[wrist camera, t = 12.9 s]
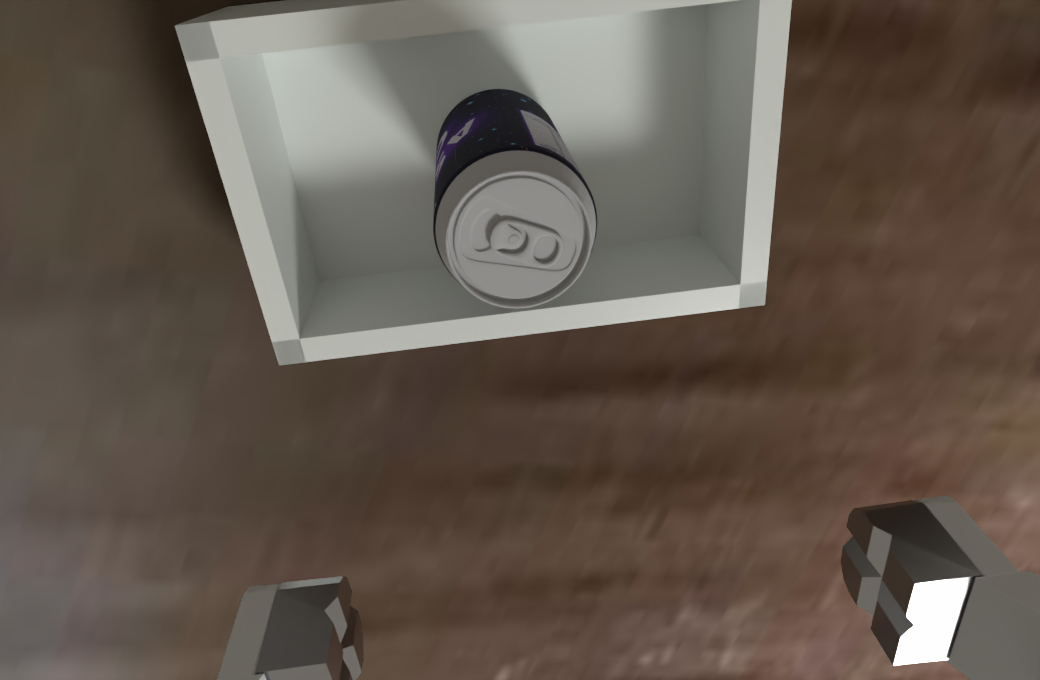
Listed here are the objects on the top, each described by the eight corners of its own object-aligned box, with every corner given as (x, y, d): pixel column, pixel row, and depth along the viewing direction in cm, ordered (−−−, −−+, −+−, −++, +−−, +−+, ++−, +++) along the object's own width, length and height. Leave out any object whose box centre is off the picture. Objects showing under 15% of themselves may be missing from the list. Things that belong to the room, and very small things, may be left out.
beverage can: (456, 67, 32) (461, 133, 22) (573, 107, 33) (631, 188, 23) (422, 185, 35) (412, 295, 24) (533, 219, 36) (568, 336, 26)
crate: (728, -48, 32) (795, -43, 26) (715, 246, 39) (764, 304, 33) (227, 6, 31) (174, 25, 25) (305, 295, 38) (279, 365, 32)
